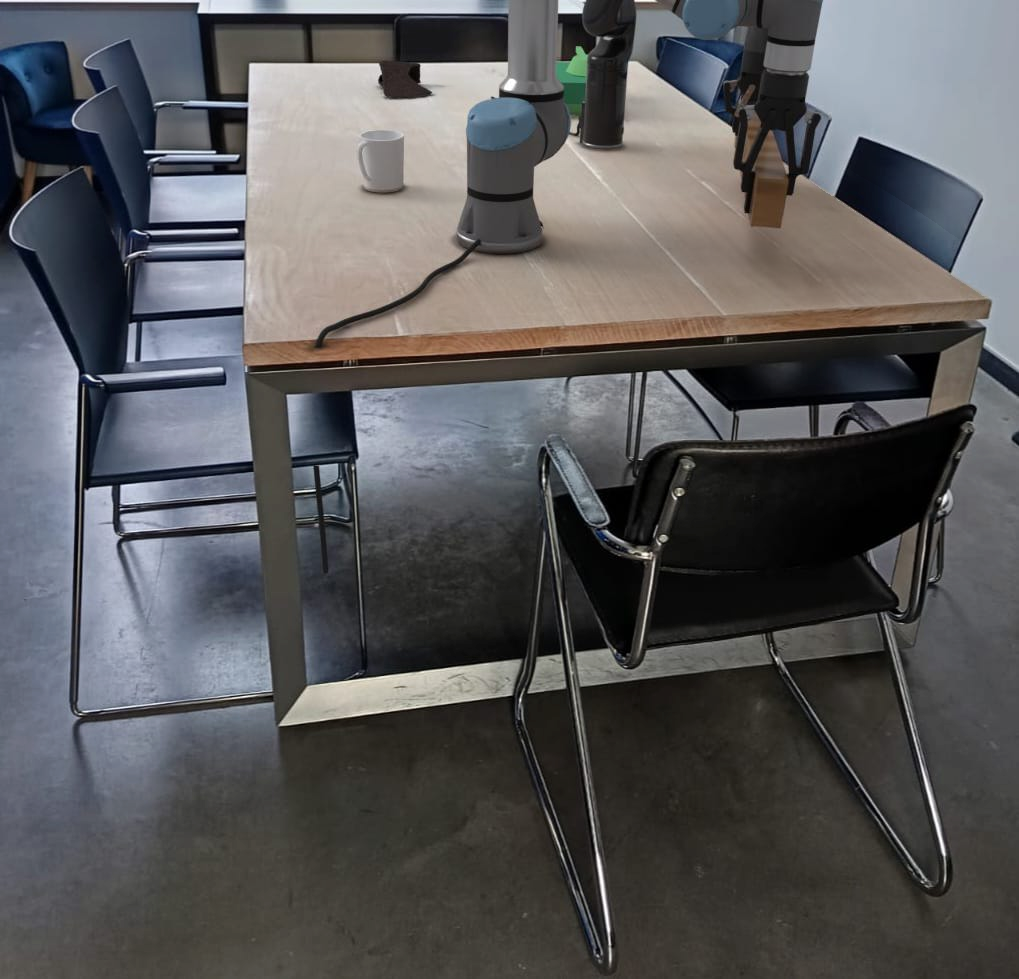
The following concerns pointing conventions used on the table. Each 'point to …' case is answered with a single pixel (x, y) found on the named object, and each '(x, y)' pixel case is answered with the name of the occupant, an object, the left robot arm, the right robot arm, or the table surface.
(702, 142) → the table surface
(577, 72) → the green gift box
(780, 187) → the brown wooden bar
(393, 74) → the dark brown boot
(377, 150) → the mug
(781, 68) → the left robot arm
